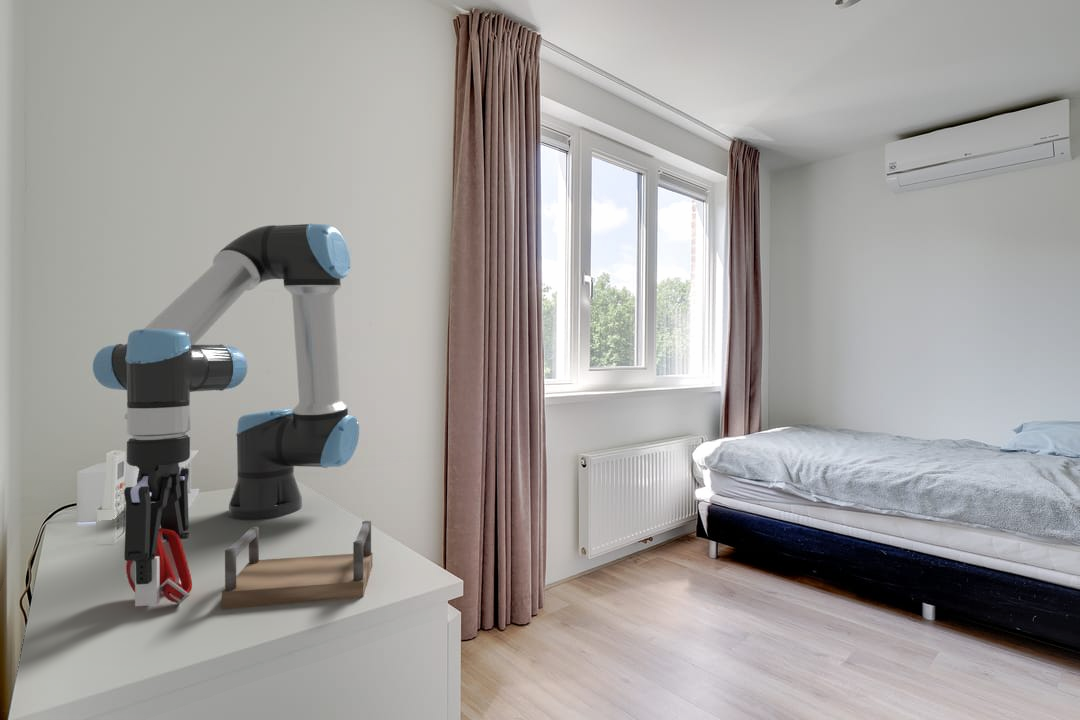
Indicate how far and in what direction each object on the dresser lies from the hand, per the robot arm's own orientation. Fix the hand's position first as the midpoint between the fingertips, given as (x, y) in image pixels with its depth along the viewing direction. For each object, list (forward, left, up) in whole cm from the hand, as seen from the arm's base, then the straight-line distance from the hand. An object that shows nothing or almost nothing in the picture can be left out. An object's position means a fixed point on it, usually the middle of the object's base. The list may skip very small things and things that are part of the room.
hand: (159, 593), depth 79 cm
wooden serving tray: (-1, +20, -1) cm, 20 cm away
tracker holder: (0, 0, -1) cm, 1 cm away
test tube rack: (-57, -21, -1) cm, 61 cm away
